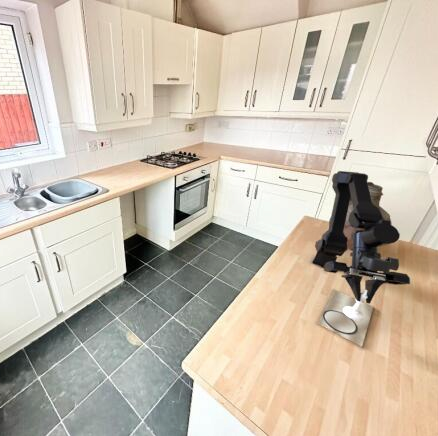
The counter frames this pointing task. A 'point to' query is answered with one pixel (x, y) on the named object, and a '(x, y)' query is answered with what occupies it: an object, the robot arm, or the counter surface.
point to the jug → (375, 196)
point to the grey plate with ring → (346, 318)
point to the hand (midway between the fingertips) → (363, 302)
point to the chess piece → (356, 308)
